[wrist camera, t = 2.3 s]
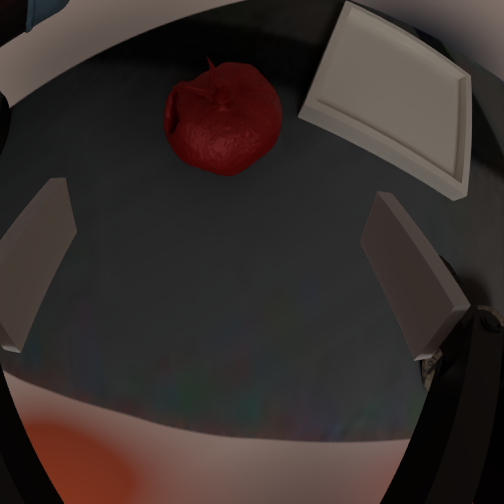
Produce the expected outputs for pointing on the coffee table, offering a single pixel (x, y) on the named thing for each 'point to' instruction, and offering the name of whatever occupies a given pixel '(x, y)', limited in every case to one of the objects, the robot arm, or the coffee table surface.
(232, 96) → the pomegranate
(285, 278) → the coffee table surface
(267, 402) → the coffee table surface
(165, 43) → the coffee table surface
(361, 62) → the tray
